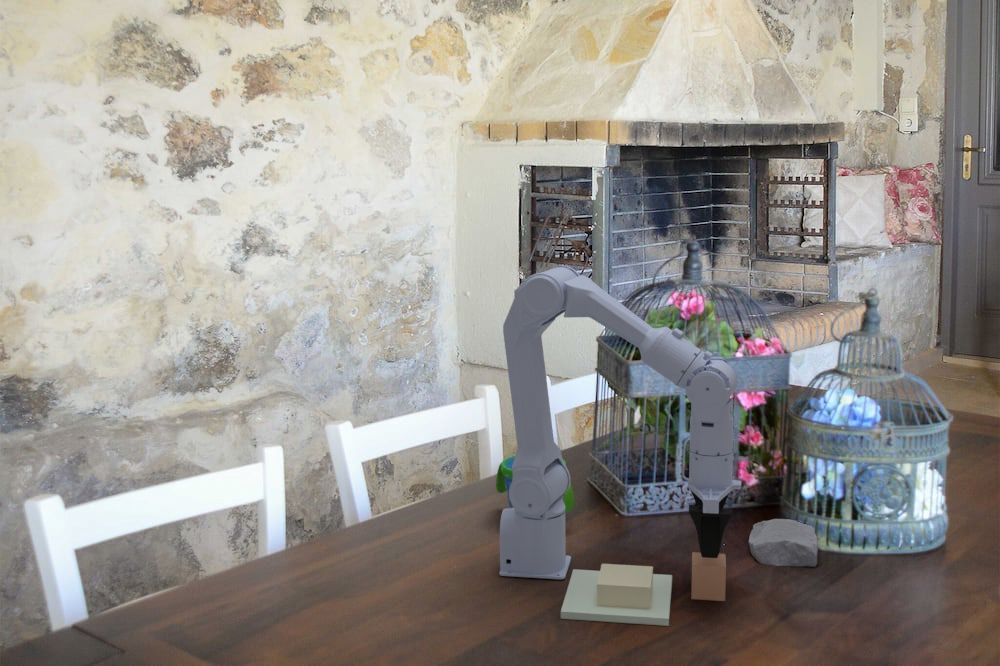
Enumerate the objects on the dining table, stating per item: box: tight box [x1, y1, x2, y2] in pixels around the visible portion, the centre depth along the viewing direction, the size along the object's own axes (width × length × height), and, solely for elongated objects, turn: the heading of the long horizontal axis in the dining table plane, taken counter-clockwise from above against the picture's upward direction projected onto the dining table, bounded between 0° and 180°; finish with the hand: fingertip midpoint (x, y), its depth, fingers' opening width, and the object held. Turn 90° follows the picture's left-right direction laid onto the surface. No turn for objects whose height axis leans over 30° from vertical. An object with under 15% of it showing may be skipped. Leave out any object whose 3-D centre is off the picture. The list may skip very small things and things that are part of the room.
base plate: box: [560, 563, 673, 627], centre depth 147 cm, size 14×14×4 cm
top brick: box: [690, 551, 727, 602], centre depth 149 cm, size 4×4×5 cm
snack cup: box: [495, 454, 575, 514], centre depth 176 cm, size 16×10×10 cm
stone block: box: [748, 518, 819, 568], centre depth 163 cm, size 12×5×10 cm
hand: (709, 546), depth 148 cm, fingers open, 7 cm apart
